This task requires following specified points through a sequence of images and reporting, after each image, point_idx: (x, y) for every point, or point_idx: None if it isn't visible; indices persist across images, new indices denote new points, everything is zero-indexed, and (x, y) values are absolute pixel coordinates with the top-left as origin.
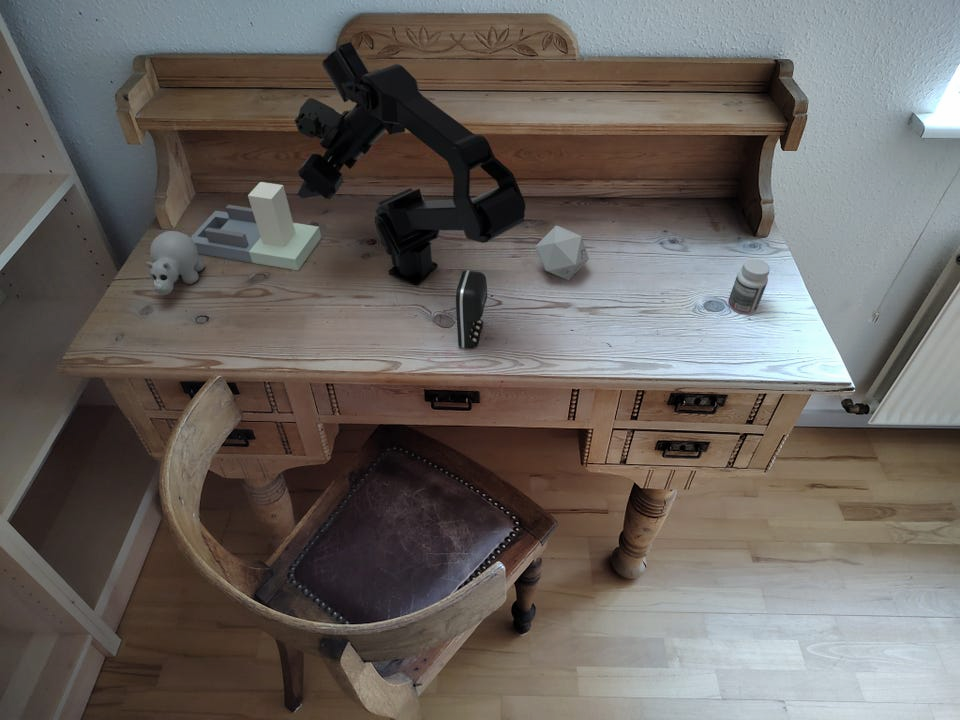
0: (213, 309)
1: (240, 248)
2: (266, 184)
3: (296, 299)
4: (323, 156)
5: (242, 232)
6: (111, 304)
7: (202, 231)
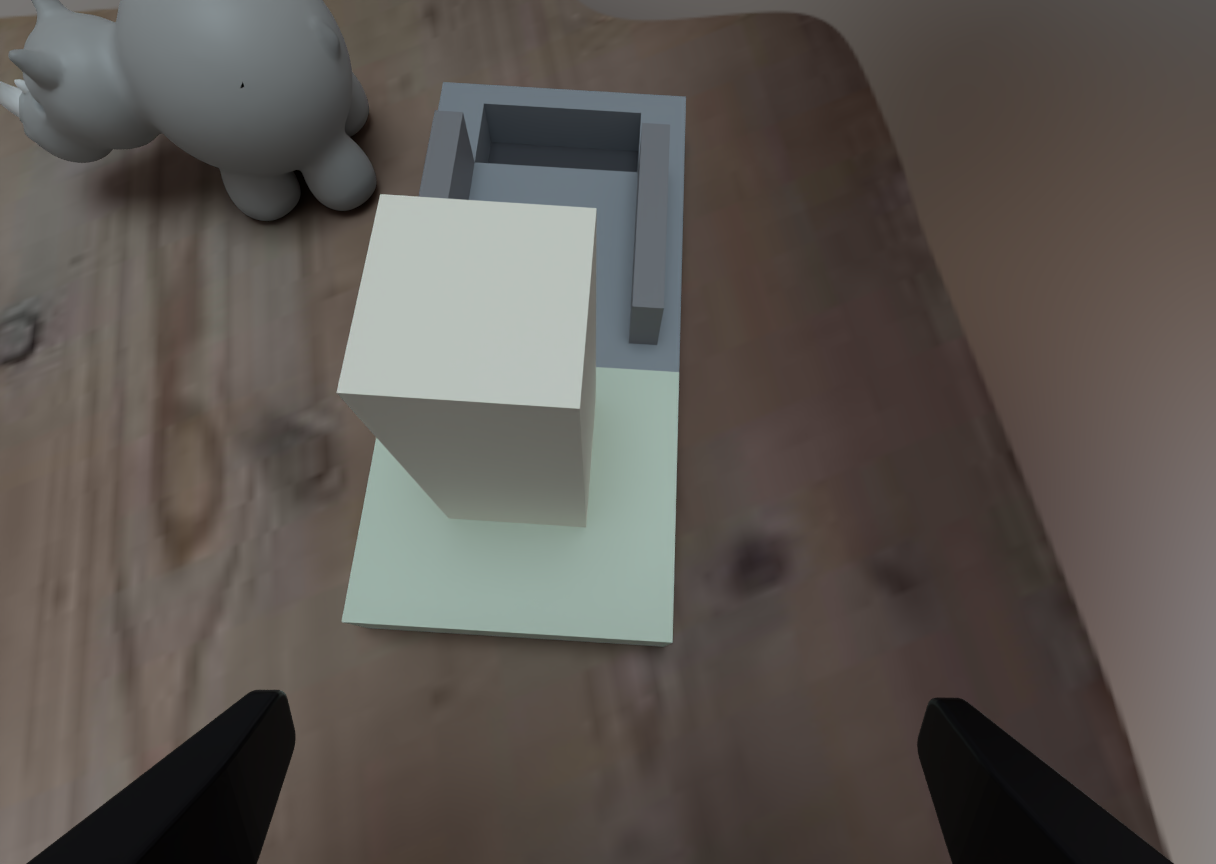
0: (78, 355)
1: None
2: (566, 267)
3: (128, 714)
4: (1039, 832)
5: None
6: None
7: (528, 109)
